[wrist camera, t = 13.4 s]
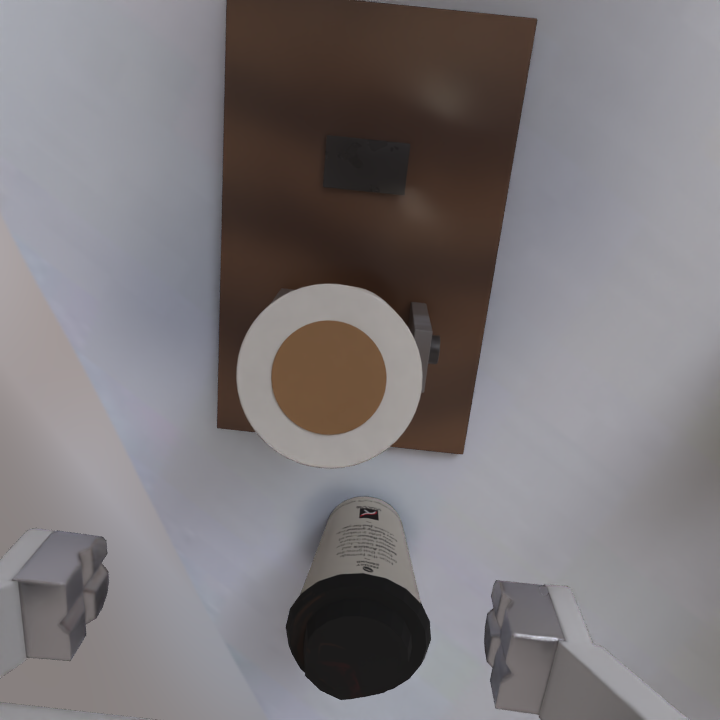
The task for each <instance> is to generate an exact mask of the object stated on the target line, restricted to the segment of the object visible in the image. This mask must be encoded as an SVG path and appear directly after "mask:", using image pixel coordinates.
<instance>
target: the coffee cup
mask: <svg viewBox="0 0 720 720" xmlns="http://www.w3.org/2000/svg"><path fill="white" fill-rule="evenodd" d="M286 631H287V638H288V644H289V647H290V650H291V653H292V655H293V657H294V658H295V660H296V662H297V664H298V665H299V667H300V669H301V670H302V671H303V672H305V676H306V677H307V678H308V679H309V680H310V681H311V682H312V683H313V684H314V685H315V686H316V687H317V688H318V689H320V690H321V691H323V692H325V693H327V694H329V695H331V696H333V697H336V698H338V699H340V700H346V699H354V698H360V697H366V696H371V695H376V694H380V693H384V692H386V691H387V690H391V689H394V688H395V687H397V686H398V685H400V684H402V683H403V682H405V681H406V680H408V679H409V678H410V677H411V676H412V675H413V674H414V673H415V671H416V670H417V669H418V668H419V667H420V665H421V664H422V662H423V660H424V658H425V655H426V652H427V650H428V647H429V644H430V641H431V634H430V621H429V619H428V617H427V615H426V612H425V610H424V608H423V606H422V604H421V602H420V597H419V593H418V589H417V585H416V580H415V576H414V572H413V568H412V564H411V559H410V555H409V551H408V547H407V543H406V538H405V534H404V530H403V526H402V522H401V520H400V518H399V516H398V513H397V512H396V511H395V510H394V509H393V508H392V507H391V506H390V505H389V504H387V503H385V502H384V501H382V500H380V499H376V498H372V497H354V498H352V499H349V500H346V501H344V502H342V503H341V504H340V505H338V506H337V507H336V508H335V509H334V511H333V512H332V513H331V515H330V516H329V519H328V522H327V524H326V527H325V530H324V532H323V535H322V538H321V540H320V543H319V546H318V548H317V551H316V554H315V556H314V559H313V562H312V564H311V567H310V570H309V572H308V575H307V578H306V580H305V583H304V586H303V588H302V591H301V594H300V596H299V597H298V598H297V600H296V601H295V603H294V604H293V606H292V607H291V608H290V611H289V615H288V620H287V624H286Z"/></svg>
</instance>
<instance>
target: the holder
mask: <svg viewBox="0 0 720 720" xmlns="http://www.w3.org/2000/svg"><path fill="white" fill-rule="evenodd" d="M536 24H537V19H535V18H525V17H515V16H505V15H496V14H486V13H476V12H466V11H456V10H446V9H436V8H427V7H417V6H407V5H397V4H387V3H377V2H367V1H357V0H227V8H226V52H225V97H224V141H223V185H222V230H221V274H220V318H219V363H218V407H217V428H221V429H230V430H239V431H249V432H256V431H255V430H254V429H253V427H252V426H251V424H250V423H249V421H248V419H247V417H246V415H245V413H244V411H243V408H242V406H241V403H240V399H239V395H238V389H237V381H236V373H237V362H238V355H239V352H240V348H241V345H242V342H243V340H244V338H245V336H246V333H247V332H248V330H249V328H250V327H251V325H252V323H253V322H254V321H255V320H256V318H257V317H258V316H259V315H260V313H261V312H262V311H264V310H265V309H266V308H267V307H268V306H269V305H270V304H271V303H273V302H274V301H276V300H277V299H278V298H280V297H282V296H284V295H285V294H287V293H289V292H291V291H294V290H297V289H299V288H302V287H307V286H311V285H318V284H340V285H347V286H353V287H358V288H362V289H366V290H368V291H370V292H372V293H374V294H376V295H377V296H379V297H380V298H381V299H383V300H384V301H385V302H386V303H387V304H388V305H389V306H390V307H391V308H392V309H393V310H394V311H395V312H396V313H397V314H398V315H399V316H400V317H401V318H402V319H403V321H404V322H405V324H406V325H407V327H408V328H409V330H410V332H411V333H412V335H413V337H414V339H415V342H416V345H417V347H418V350H419V354H420V358H421V363H422V375H423V377H422V390H421V395H420V400H419V403H418V406H417V409H416V412H415V414H414V416H413V418H412V420H411V422H410V424H409V425H408V427H407V428H406V430H405V431H404V433H403V434H402V435H401V436H400V437H399V438H398V440H397V441H396V442H395V443H393V444H392V445H391V446H390V447H398V448H407V449H416V450H426V451H435V452H444V453H454V454H463V451H464V445H465V439H466V434H467V428H468V422H469V416H470V410H471V404H472V398H473V393H474V387H475V381H476V375H477V369H478V363H479V358H480V352H481V346H482V340H483V334H484V328H485V322H486V317H487V311H488V305H489V299H490V293H491V287H492V281H493V276H494V270H495V264H496V258H497V252H498V246H499V241H500V235H501V229H502V223H503V217H504V211H505V205H506V200H507V194H508V188H509V182H510V176H511V170H512V165H513V159H514V153H515V147H516V141H517V135H518V129H519V124H520V118H521V112H522V106H523V100H524V94H525V88H526V83H527V77H528V71H529V65H530V59H531V53H532V48H533V42H534V36H535V30H536Z"/></svg>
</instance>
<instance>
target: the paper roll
mask: <svg viewBox="0 0 720 720" xmlns="http://www.w3.org/2000/svg"><path fill="white" fill-rule="evenodd" d="M422 377H423V375H422V363H421V358H420V354H419V350H418V347H417V345H416V342H415V339H414V337H413V335H412V333H411V332H410V330H409V328H408V327H407V325H406V324H405V322H404V321H403V319H402V318H401V317H400V316H399V315H398V314H397V313H396V312H395V311H394V310H393V309H392V308H391V307H390V306H389V305H388V304H387V303H386V302H385V301H384V300H383V299H381V298H380V297H379V296H377V295H376V294H374V293H372V292H370V291H368V290H366V289H362V288H358V287H353V286H347V285H340V284H318V285H311V286H307V287H302V288H299V289H297V290H294V291H291V292H289V293H287V294H285V295H284V296H282V297H280V298H278V299H277V300H276V301H274V302H273V303H271V304H270V305H269V306H268V307H267V308H266V309H265V310H264V311H262V312H261V313H260V315H259V316H258V317H257V318H256V320H255V321H254V322H253V323H252V325H251V327H250V328H249V330H248V332H247V333H246V336H245V338H244V340H243V342H242V345H241V348H240V352H239V355H238V362H237V373H236V381H237V389H238V395H239V399H240V403H241V406H242V408H243V411H244V413H245V415H246V417H247V419H248V421H249V423H250V424H251V426H252V427H253V429H254V430H255V431H256V433H257V434H258V435H259V436H260V437H261V438H262V440H263V441H264V442H265V443H266V444H268V445H269V446H270V447H271V448H272V449H274V450H275V451H276V452H278V453H280V454H281V455H283V456H284V457H286V458H288V459H291V460H293V461H295V462H297V463H301V464H304V465H307V466H312V467H318V468H343V467H348V466H353V465H357V464H360V463H363V462H365V461H368V460H370V459H372V458H374V457H376V456H378V455H379V454H381V453H382V452H384V451H385V450H386V449H388V448H389V447H390V446H391V445H392V444H393V443H395V442H396V441H397V440H398V438H399V437H400V436H401V435H402V434H403V433H404V431H405V430H406V428H407V427H408V425H409V424H410V422H411V420H412V418H413V416H414V414H415V412H416V409H417V406H418V403H419V400H420V395H421V390H422Z"/></svg>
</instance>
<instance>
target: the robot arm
mask: <svg viewBox="0 0 720 720" xmlns="http://www.w3.org/2000/svg"><path fill="white" fill-rule="evenodd" d="M106 555H107V543H106V540H105V539H104V538H103V537H101V536H94V535H87V534H78V533H71V532H64V531H53V530H46V529H38V528H32V529H29V530H27V531H26V532H25V533H24V534H23V535H22V536H21V537H20V538H19V539H18V541H17V542H16V543H15V544H14V545H13V546H12V547H11V548H10V549H9V550H8V551H7V552H6V554H5V555H4V556H3V557H2V558H1V559H0V678H2V677H3V676H5V675H6V674H7V673H9V672H10V671H12V670H13V669H14V668H16V667H17V666H19V665H20V664H21V663H23V662H24V661H26V658H39V659H52V660H63V661H71V659H72V658H73V656H74V654H75V653H76V651H77V649H78V648H79V646H80V645H81V643H82V641H83V640H84V638H85V636H86V624H87V623H89V622H91V621H93V620H94V619H96V618H97V616H98V615H99V613H100V611H101V609H102V608H103V605H104V602H105V599H106V596H107V591H108V583H109V576H108V571H107V569H106V568H105V567H104V565H103V564H102V561H103V559H104V558H105V557H106ZM491 598H492V603H493V609H492V610H491V611H490V612H488V613H487V619H486V624H485V637H484V644H485V654H486V660H487V662H488V664H489V665H490V666H491V667H492V668H493V669H492V673H491V678H490V682H491V687H492V693H493V698H494V703H495V708H496V709H502V710H510V711H517V712H524V713H531V714H538V715H539V718H540V719H541V720H689V719H688V718H687V717H685V716H684V715H683V714H682V713H681V712H679V711H678V710H677V709H676V708H675V707H674V706H672V705H671V704H670V703H669V702H668V701H666V700H665V699H664V698H663V697H662V696H660V695H659V694H658V693H657V692H656V691H654V690H653V689H652V688H651V687H650V686H648V685H647V684H646V683H645V682H644V681H643V680H641V679H640V678H639V677H638V676H637V675H635V674H634V673H633V672H632V671H631V670H629V669H628V668H627V667H626V666H625V665H623V664H622V663H621V662H620V661H619V660H617V659H616V658H615V657H614V656H613V655H612V654H610V653H609V652H608V651H607V650H606V649H604V648H603V647H602V646H600V645H594V644H593V641H592V639H591V636H590V634H589V631H588V629H587V626H586V624H585V621H584V619H583V617H582V614H581V612H580V609H579V607H578V604H577V602H576V599H575V597H574V594H573V592H572V590H571V589H570V588H569V587H568V586H559V585H547V584H544V585H538V584H529V583H519V582H510V581H500V580H496V581H495V583H494V585H493V589H492V594H491ZM0 720H155V719H147V718H137V717H128V716H119V715H111V714H102V713H93V712H85V711H76V710H66V709H58V708H49V707H40V706H30V705H22V704H13V703H4V702H0Z"/></svg>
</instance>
